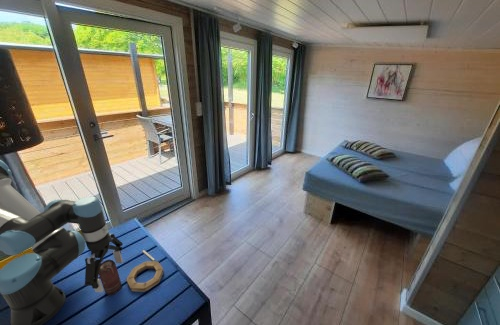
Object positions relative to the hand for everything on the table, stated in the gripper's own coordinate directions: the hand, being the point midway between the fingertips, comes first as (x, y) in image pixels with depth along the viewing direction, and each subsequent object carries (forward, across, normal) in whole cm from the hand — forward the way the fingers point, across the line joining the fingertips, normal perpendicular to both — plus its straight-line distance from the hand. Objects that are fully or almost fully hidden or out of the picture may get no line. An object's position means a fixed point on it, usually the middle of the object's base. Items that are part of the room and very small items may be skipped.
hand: (110, 275), depth 88 cm
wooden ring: (+8, +6, -11) cm, 15 cm away
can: (+8, 0, 0) cm, 8 cm away
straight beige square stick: (+8, +18, -7) cm, 21 cm away
